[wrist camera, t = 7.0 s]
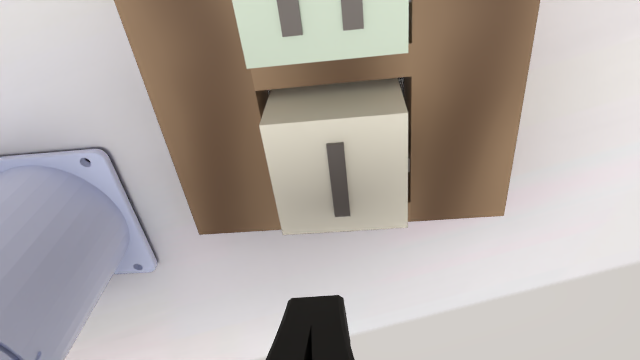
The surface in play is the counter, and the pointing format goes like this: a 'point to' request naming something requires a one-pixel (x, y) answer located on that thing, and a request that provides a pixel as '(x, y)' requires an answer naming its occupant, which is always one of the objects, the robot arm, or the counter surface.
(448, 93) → the frame
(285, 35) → the tile two
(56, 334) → the robot arm
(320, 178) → the tile one
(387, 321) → the counter surface
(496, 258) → the counter surface
